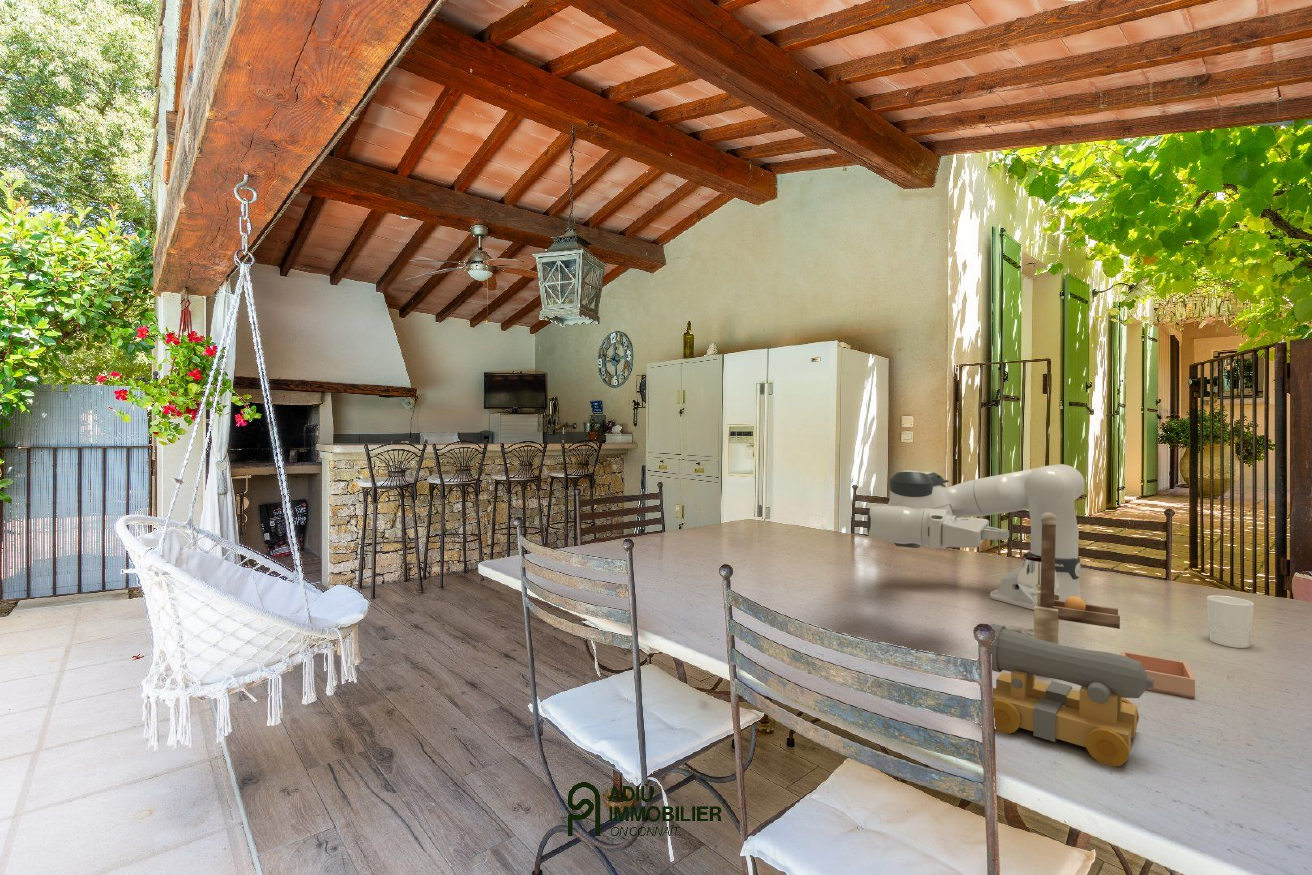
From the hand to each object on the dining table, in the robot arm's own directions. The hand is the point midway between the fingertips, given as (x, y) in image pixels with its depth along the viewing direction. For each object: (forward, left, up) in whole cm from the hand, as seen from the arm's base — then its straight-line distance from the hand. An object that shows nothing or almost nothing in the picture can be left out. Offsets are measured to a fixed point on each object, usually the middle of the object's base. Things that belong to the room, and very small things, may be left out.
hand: (1008, 534), depth 132 cm
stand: (+7, +2, -26) cm, 27 cm away
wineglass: (-1, +19, -26) cm, 33 cm away
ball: (+11, +4, -13) cm, 18 cm away
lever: (+12, +4, -16) cm, 20 cm away
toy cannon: (+20, -28, -26) cm, 43 cm away
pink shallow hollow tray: (+24, +8, -26) cm, 36 cm away
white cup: (+28, +49, -26) cm, 62 cm away
